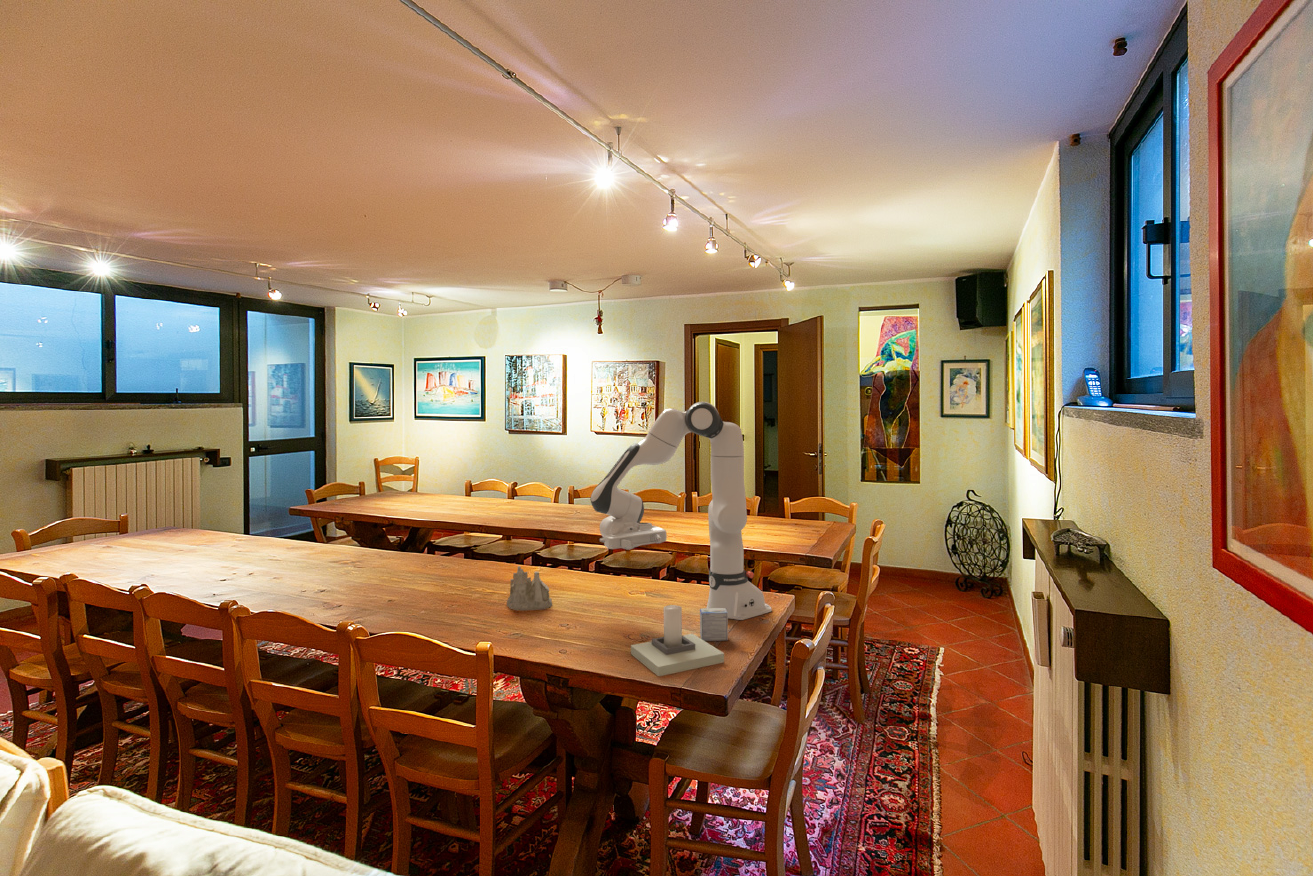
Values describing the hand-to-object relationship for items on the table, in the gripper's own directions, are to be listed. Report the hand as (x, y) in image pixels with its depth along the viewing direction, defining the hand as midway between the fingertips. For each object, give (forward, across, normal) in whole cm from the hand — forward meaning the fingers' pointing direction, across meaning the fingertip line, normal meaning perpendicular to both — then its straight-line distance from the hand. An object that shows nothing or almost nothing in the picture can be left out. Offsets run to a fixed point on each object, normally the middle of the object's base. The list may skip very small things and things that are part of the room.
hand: (646, 542), depth 198 cm
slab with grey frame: (+23, -3, +28) cm, 36 cm away
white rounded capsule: (+21, -3, +25) cm, 33 cm away
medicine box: (+15, +14, +28) cm, 35 cm away
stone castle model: (-45, -25, +27) cm, 58 cm away
